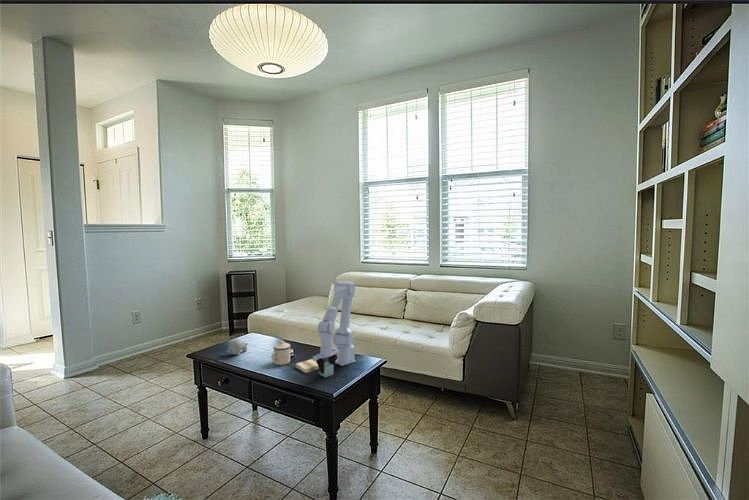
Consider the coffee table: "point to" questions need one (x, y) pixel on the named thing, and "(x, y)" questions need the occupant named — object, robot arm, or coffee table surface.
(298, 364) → the maple base
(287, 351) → the teacup with lid
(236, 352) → the chubby cartoon animal
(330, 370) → the teal cube
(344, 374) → the coffee table surface
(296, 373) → the coffee table surface
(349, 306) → the robot arm
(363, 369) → the coffee table surface
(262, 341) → the coffee table surface
